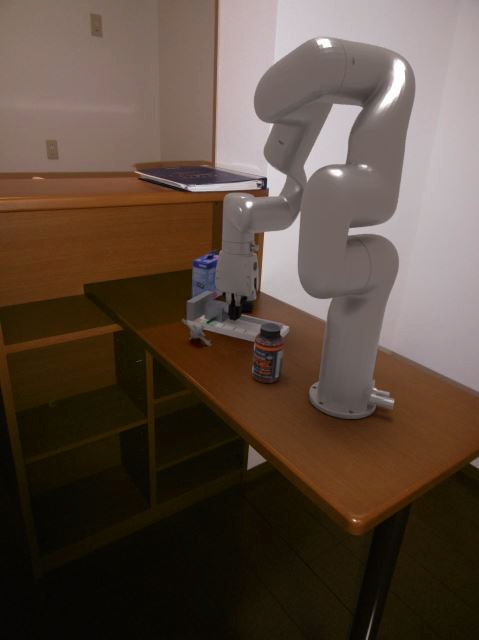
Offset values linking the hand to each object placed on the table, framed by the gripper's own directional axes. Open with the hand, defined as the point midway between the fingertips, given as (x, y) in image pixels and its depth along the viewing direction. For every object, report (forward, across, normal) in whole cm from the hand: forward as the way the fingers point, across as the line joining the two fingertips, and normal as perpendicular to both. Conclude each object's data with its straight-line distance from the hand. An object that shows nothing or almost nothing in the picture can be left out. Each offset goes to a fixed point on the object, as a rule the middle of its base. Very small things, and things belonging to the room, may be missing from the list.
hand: (234, 318), depth 115 cm
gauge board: (+3, -1, 0) cm, 3 cm away
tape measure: (+3, +4, -14) cm, 15 cm away
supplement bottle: (+3, -17, +19) cm, 26 cm away
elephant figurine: (+3, +4, +12) cm, 13 cm away
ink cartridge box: (+3, +17, -16) cm, 24 cm away
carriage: (+1, +5, +1) cm, 5 cm away
